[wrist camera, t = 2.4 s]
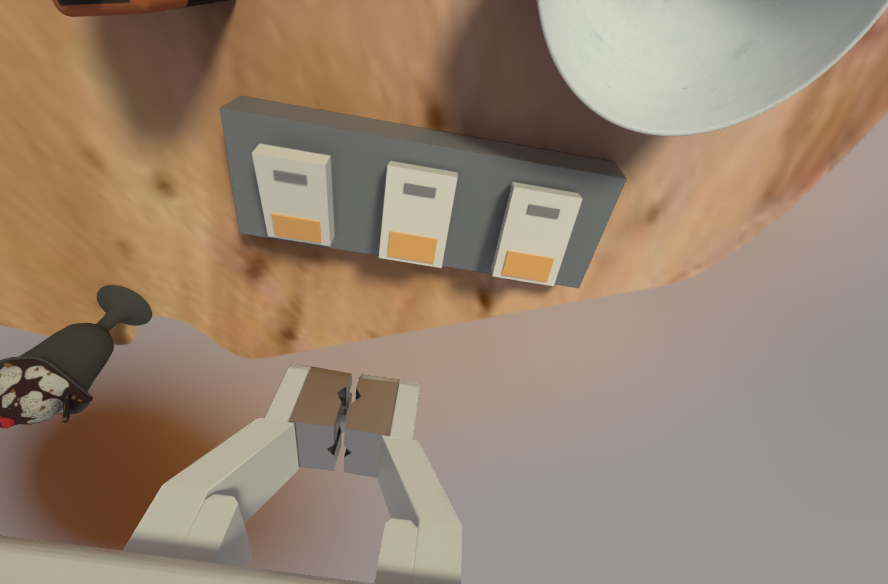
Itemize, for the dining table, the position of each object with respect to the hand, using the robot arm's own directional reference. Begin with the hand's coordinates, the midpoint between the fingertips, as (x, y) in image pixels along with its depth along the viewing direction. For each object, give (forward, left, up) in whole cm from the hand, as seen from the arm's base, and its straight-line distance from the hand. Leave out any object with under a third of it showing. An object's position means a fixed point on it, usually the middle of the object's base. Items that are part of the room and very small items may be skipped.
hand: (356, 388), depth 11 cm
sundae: (-27, -22, -23) cm, 42 cm away
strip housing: (0, -5, -23) cm, 24 cm away
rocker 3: (+8, -5, -19) cm, 21 cm away
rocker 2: (0, -5, -19) cm, 20 cm away
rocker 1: (-8, -5, -19) cm, 21 cm away
